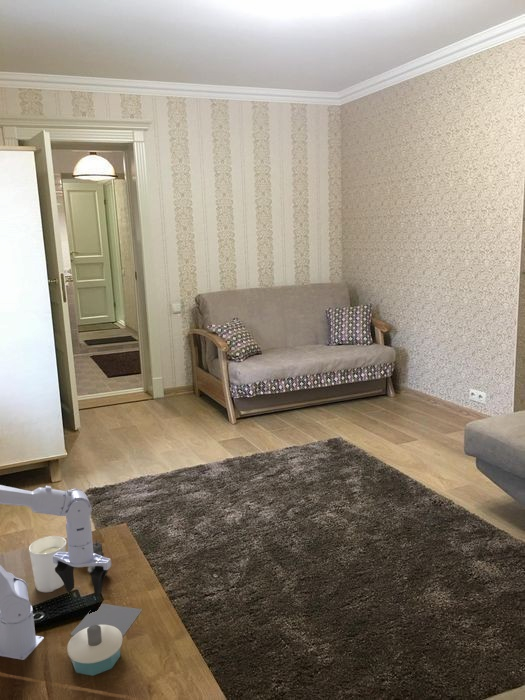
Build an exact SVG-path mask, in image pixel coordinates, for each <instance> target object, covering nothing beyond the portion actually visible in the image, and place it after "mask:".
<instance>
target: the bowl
mask: <svg viewBox="0 0 525 700" xmlns="http://www.w3.org/2000/svg"><path fill="white" fill-rule="evenodd" d="M120 657H121V648H120V649H119V650H118V651H117V652H116V653H115V654H114V655H112V656H111V657H109V658H107V659H105V660H103V661H100V662H96V663H89V664H87V663H79V662H76V661H74V660H72V659H71V658H70V659H71V660H70V661H71V664H72V666H73V669H74V671H75V673H76V674H81V675H85V676H91V677H92V676H96V675H98V674H101V673H104V672H107V671H109V670H112V669H113V667H114V666H115V664H116V663H117V661H118V660H119V658H120Z"/></svg>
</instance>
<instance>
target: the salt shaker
mask: <svg viewBox="0 0 525 700" xmlns="http://www.w3.org/2000/svg"><path fill="white" fill-rule="evenodd" d="M93 553H95V554H98V555H100V556H102V557H105V553H104V552H103V544H102V543H101V542H99V541H98V540H97V539H96V540H95V541H94V543H93ZM94 569H95V567H91V566H88V567H87V572H88V574H89V575H90V573H91V572H92V571H93V570H94ZM108 571H109V569H108V570H107V573H106V575H107V574H108Z"/></svg>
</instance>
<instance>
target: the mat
mask: <svg viewBox="0 0 525 700" xmlns="http://www.w3.org/2000/svg"><path fill="white" fill-rule="evenodd" d="M142 611H143V609H142V608H136V607H129V606H121V605H115V604H109V603H102V604H101V606H100V607H99V609H98V610H97V611H95V612H92V613H90V614H89V612H87V614H86V615H85V616H84V617H83V619H82V620H81V621H80V622H79V623H78V624H77V626H76V627H74V629H73V630H72V631H71V633H70V634H69V636H72V637H73V636H74V635H75V634H76V633H78V632H79V631H81V630H83V629H85V628H87V627H90V626H92V625H110V626H114V627H116V628H117V629H119V630H120V632H121V634H122V639H123V638H124V636H125V635H126V633H127V632H128V631H129V629H130V628H131V627H132V625H133V624H134V622H135V621H136V620H137V619H138V617H139V615H140V614H141V613H142Z"/></svg>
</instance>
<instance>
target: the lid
mask: <svg viewBox="0 0 525 700" xmlns="http://www.w3.org/2000/svg"><path fill="white" fill-rule="evenodd" d="M122 645H123V638H122V634H121V632H120V630H119V629H117V628H116V627H114V626H110V625H92V626H90V627H87V628H85V629H83V630H81V631H79V632H78V633H76V634H75V635H74V636H72V637H71V638H70V640H69V641H68V642H67V646H66V648H67V654H68V657H69V658H70V659H72V660H74V661H76V662H79V663H87V664H89V663H96V662H100V661H103V660H105V659H107V658H109V657H111V656H112V655H114V654H115V653H116V652H117V651H118V650H119V649H120V650H121V647H122ZM72 660H71V661H72Z"/></svg>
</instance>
